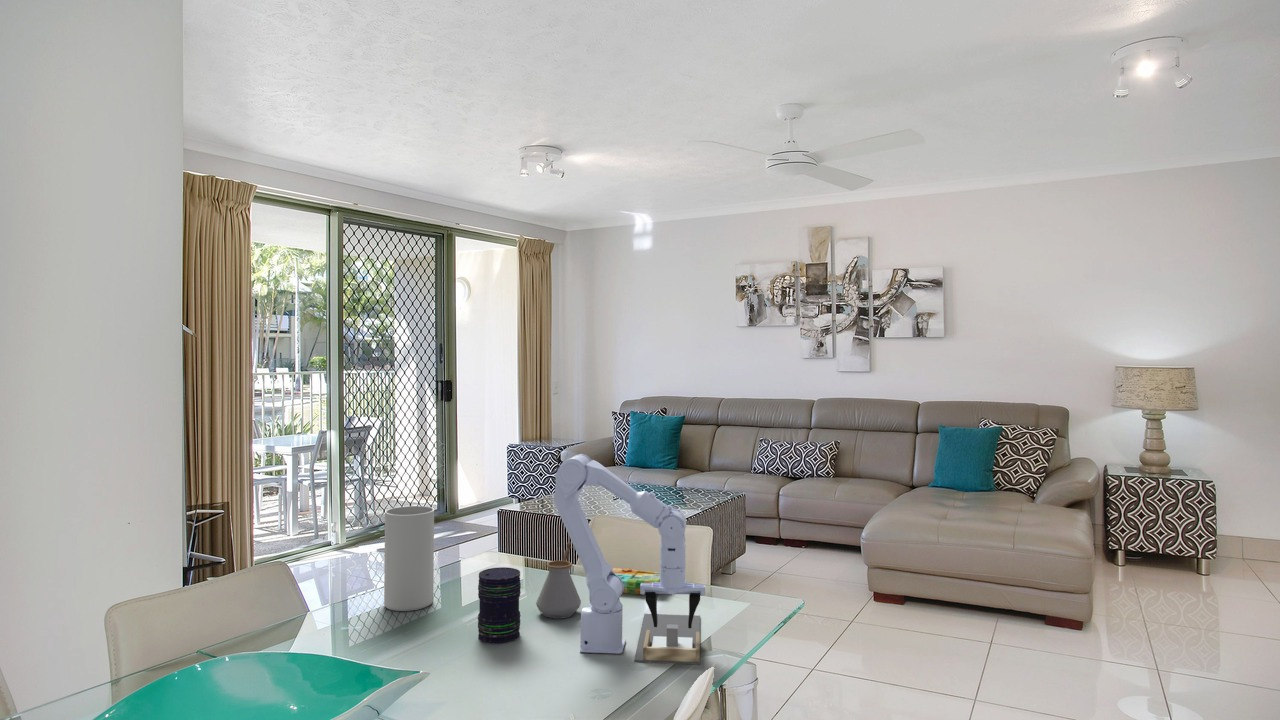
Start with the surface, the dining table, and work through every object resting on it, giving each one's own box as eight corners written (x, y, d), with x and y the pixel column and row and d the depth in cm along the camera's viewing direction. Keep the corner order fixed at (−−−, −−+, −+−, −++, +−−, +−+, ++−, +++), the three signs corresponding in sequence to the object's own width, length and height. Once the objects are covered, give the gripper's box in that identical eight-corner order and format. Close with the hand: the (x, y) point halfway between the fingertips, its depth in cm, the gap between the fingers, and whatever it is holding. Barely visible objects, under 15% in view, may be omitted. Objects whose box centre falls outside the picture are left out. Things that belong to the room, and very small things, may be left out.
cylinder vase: (374, 610, 191) (375, 513, 191) (401, 595, 203) (401, 504, 203) (417, 614, 188) (418, 516, 188) (442, 599, 200) (442, 507, 200)
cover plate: (650, 656, 161) (651, 633, 161) (653, 641, 170) (653, 618, 170) (692, 658, 160) (692, 634, 160) (692, 642, 169) (692, 620, 169)
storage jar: (515, 626, 180) (516, 565, 180) (524, 641, 170) (524, 576, 171) (474, 631, 176) (475, 569, 176) (481, 646, 167) (481, 580, 167)
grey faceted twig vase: (576, 622, 183) (576, 562, 183) (531, 620, 184) (531, 560, 184) (590, 595, 204) (591, 541, 204) (550, 593, 205) (550, 540, 206)
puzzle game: (606, 565, 219) (671, 570, 214) (606, 580, 219) (671, 587, 214) (593, 575, 208) (661, 582, 202) (593, 592, 208) (661, 599, 202)
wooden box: (642, 661, 159) (643, 647, 159) (646, 642, 170) (646, 629, 170) (699, 663, 158) (699, 650, 158) (699, 644, 169) (699, 631, 169)
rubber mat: (634, 661, 159) (634, 660, 159) (644, 615, 189) (644, 613, 189) (699, 664, 158) (699, 662, 158) (699, 617, 187) (699, 615, 187)
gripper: (639, 569, 162) (639, 631, 162) (705, 571, 160) (705, 633, 160) (641, 561, 169) (641, 620, 169) (705, 562, 167) (705, 622, 167)
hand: (672, 626), depth 165 cm, fingers open, 7 cm apart
